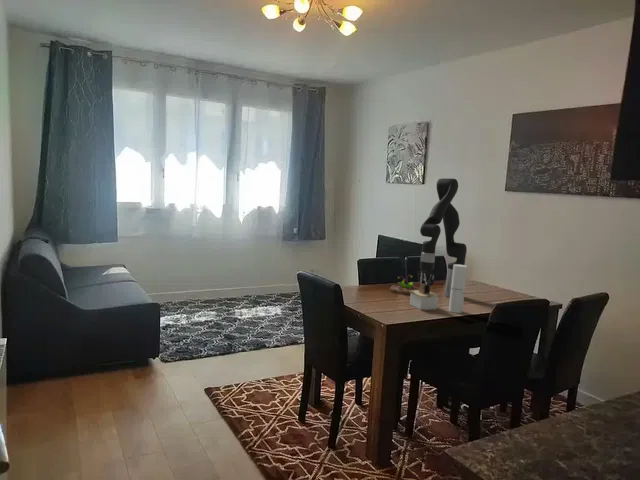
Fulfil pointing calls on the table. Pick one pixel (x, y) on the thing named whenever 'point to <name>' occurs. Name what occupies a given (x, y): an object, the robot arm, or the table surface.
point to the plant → (403, 287)
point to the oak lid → (423, 292)
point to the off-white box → (423, 302)
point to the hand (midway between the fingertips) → (424, 291)
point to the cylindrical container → (457, 288)
